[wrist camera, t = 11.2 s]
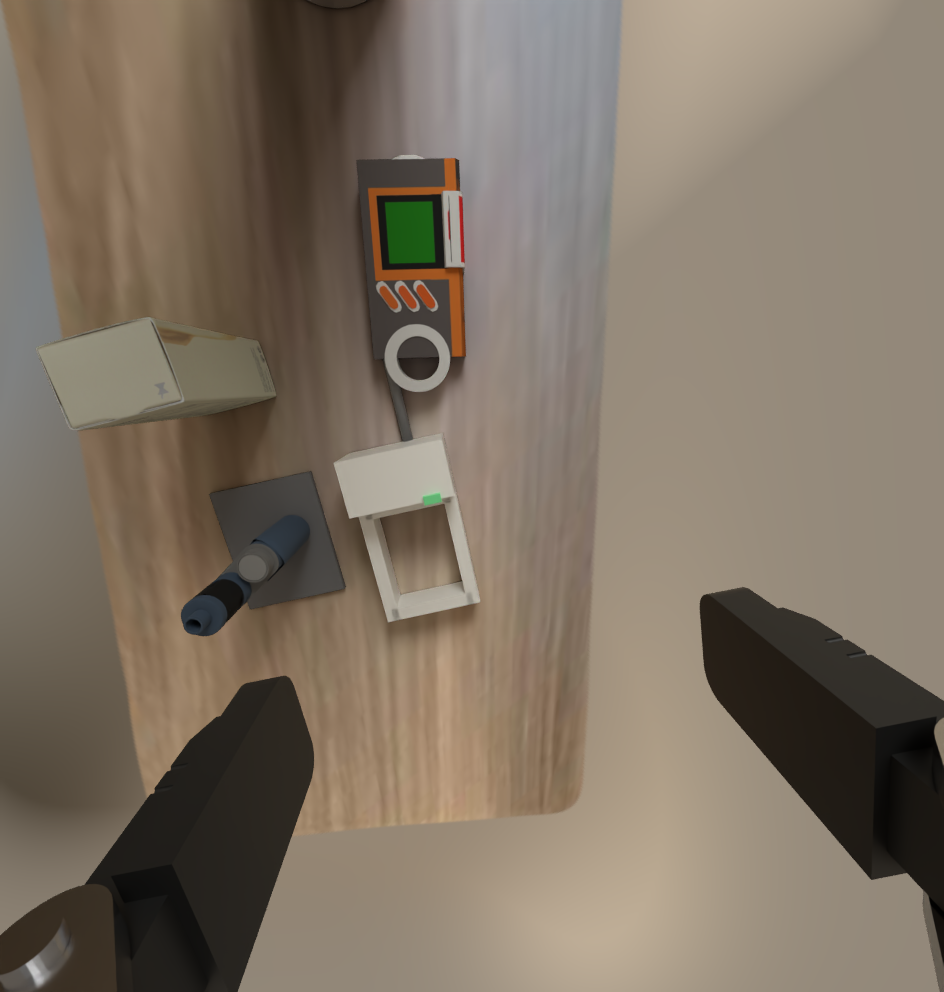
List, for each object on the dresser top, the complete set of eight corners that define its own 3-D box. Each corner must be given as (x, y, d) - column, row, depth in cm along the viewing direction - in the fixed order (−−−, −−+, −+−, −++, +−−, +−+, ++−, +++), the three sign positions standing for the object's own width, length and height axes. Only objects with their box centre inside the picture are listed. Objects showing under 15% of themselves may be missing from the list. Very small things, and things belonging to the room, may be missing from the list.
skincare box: (259, 338, 34) (157, 310, 22) (279, 397, 35) (191, 401, 23) (175, 360, 34) (26, 344, 22) (197, 418, 35) (66, 433, 23)
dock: (311, 315, 34) (285, 301, 28) (411, 293, 34) (404, 275, 28) (391, 607, 39) (383, 641, 34) (478, 589, 39) (482, 619, 34)
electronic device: (376, 393, 33) (354, 150, 29) (381, 391, 36) (362, 169, 32) (469, 390, 33) (461, 149, 29) (467, 388, 36) (460, 168, 32)
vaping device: (250, 551, 37) (159, 626, 25) (294, 506, 36) (220, 561, 25) (276, 572, 37) (197, 655, 26) (319, 528, 37) (258, 592, 25)
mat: (211, 493, 36) (209, 494, 36) (311, 471, 36) (309, 472, 36) (252, 607, 38) (250, 609, 38) (345, 586, 38) (344, 588, 38)
